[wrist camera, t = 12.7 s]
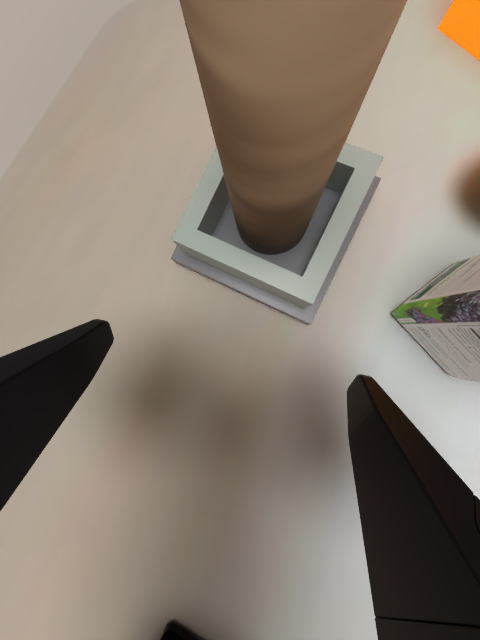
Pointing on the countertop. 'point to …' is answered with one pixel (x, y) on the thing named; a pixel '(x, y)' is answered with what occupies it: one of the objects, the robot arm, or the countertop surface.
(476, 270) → the syrup box
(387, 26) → the walnut plug
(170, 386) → the countertop surface
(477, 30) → the orange juice
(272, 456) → the countertop surface
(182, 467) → the countertop surface
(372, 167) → the dock
